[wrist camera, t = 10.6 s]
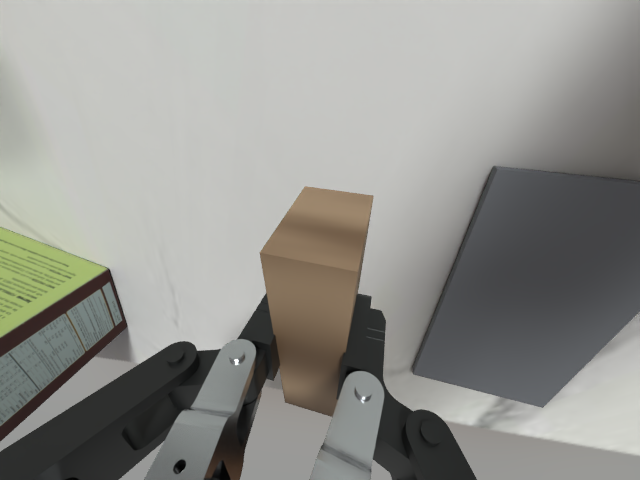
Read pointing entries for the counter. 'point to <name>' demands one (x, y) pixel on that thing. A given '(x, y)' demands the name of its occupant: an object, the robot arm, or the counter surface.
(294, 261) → the tall tan post
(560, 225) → the mat
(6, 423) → the protein box
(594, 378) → the counter surface
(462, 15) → the counter surface
